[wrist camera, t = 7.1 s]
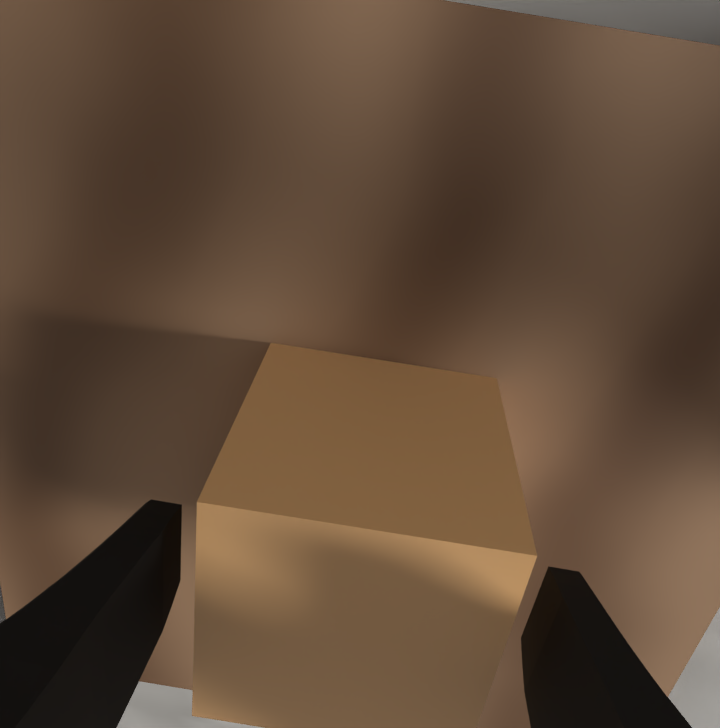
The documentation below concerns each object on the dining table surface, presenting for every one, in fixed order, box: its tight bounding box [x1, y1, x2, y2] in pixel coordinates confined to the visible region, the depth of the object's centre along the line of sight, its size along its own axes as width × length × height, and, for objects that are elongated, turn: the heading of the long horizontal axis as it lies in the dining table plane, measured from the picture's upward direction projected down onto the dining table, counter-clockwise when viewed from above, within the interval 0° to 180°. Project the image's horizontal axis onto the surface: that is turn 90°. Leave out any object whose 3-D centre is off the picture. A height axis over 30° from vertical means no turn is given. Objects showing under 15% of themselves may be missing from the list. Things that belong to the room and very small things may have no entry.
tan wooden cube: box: [192, 343, 537, 728], centre depth 13 cm, size 5×5×6 cm
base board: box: [0, 0, 720, 728], centre depth 17 cm, size 20×20×1 cm
